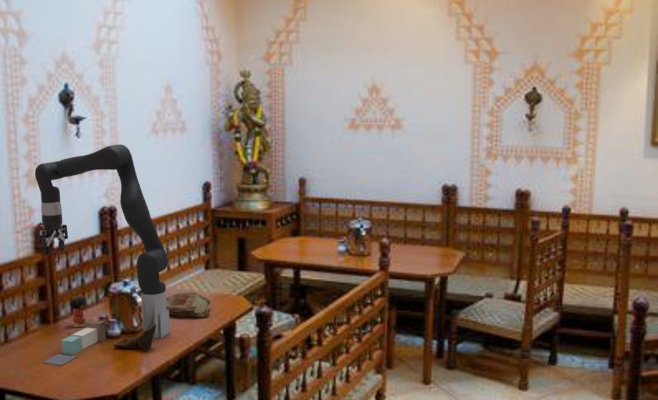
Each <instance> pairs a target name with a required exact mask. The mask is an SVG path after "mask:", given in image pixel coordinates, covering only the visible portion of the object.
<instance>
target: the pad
mask: <svg viewBox="0 0 658 400" xmlns="http://www.w3.org/2000/svg"><path fill="white" fill-rule="evenodd" d="M77 358H78V356H76V355H70V354H63V353H58V354H56V355H54V356H52V357H50V358H48V359H46V360H44V361H43V362H42V363H43V364H49V365H55V366H64V365H66V364H68V363H70V362H72V361H73V360H75V359H77Z"/></svg>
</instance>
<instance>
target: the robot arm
mask: <svg viewBox="0 0 658 400" xmlns="http://www.w3.org/2000/svg"><path fill="white" fill-rule="evenodd" d="M102 170H105V171H106V170H107V171H108V170H111V171H115V170H116V172H117V174H118V178H119V182H120V200H119V201H120V207H121V211H122V213H123V217H124V219H125V222H126V223H127V224H128V226H129V227H130V228H131V229H132V231H133V232H134V233H136V234H137V236H138V237H139V238H140V240H141V243H142V245H143V247H144V250H145V252H142V253H140V254H139V255H138V257H137V259H136V272H137V281H138V286H139V288H140V298H141V299H140V300H141V318H142V319H141V321H142V332H143V331H145V330H147V329H148V328H149V327H150V326H152V325H153V324H156V328H155V333H154V335H153V339H162V338H164V337H166V336H167V335H169V334H171V331H170V329H171V328H170V324H171V323H170V314H169V310H168V309H167V308H166V298H167V292H166V291H167V289H166V284H165V282H163V281H161V280H160V273H161V272H163V271H165V270H166V269H167V268H168V265H169V257H168V254H167V252H166V249H165V247H164V246H163V243H162V242H161V240H160V237H159V234H158V232H157V230H156V227H155V224H154V222H153V219H152V217H151V213H150V210H149V207H148V204H147V202H146V199H145V196H144V194H143V191H142V188H141V184H140V183H139V179H138V177H137V172H136V167H135V163H134V159H133V156H132V153H131V151H130V149H129V148H128V146H126V145H124V144H112V145H108V146H104V147H103V148H101V149H98V150H96V151H94V152H92V153H88V154H85V155H84V154H83V155H77V156H72V157H68V158H64V159H63V158H62V159H60V160H58V161H53V162H52V161H51V162H46V163H40V164H38V165H37V166H36V167H35V171H34V176H35V180H36V183H37V186H38V189H39V191H40V198H41V199H40V202H41V205H40V209H41V210H40V213H41V223H42V226H43V227H44V229H43V230H40V229H39V230H38V233H37V234H38V235H37V236H38V246H40V247H42V249H43V254H44V256H48V257H49V256H50V255H51V250H50V244H51V242H52V241H53V240H54V239H57V244H58V245H57V246H58V251H60V252H64V251H65V248H66V247H65V241H66V240H68V239H69V234H68V233H69V232H68V225H67V224H63V211H62V203H61V191H60V188H59V187H57V186H55V185H53V182H52V181H56V180H60V179H63V178H69V177H70V178H71V177H73V176H78V175H82V174H85V173H88V172H91V171H102Z"/></svg>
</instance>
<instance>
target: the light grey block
mask: <svg viewBox="0 0 658 400" xmlns="http://www.w3.org/2000/svg"><path fill="white" fill-rule="evenodd" d="M70 336H76V337H81V347H82V350H85V349H86V348H88V347H89V346H92V345H93V344H96V343H97V342H100V343H101V342H103V341H105V340H106V339H107V337H106V321H105V320H92V319H87V320H85V322H84V326H83V329H80V330H79V331H77V332H75V333H72V334H71V335H70Z"/></svg>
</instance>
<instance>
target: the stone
mask: <svg viewBox="0 0 658 400" xmlns="http://www.w3.org/2000/svg"><path fill="white" fill-rule="evenodd" d="M210 304H211V299H210V297H207V296H204V295H202V294H198V293H197V292H195V291H193V292H192V291H191V292H188V291H187V292H181V293H176V294H173V295H171V296H170V295H169V296H168V297H166V308H167V309H168V310H169V315H171V316H176V317H191V316H192V317H197V318H205V317H207V315H208V314H209V308H210V307H209V305H210Z"/></svg>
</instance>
